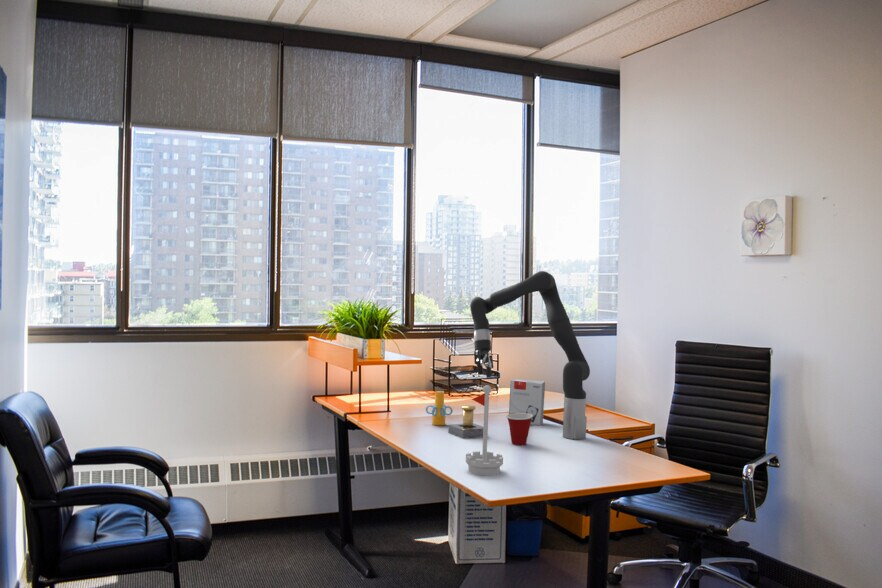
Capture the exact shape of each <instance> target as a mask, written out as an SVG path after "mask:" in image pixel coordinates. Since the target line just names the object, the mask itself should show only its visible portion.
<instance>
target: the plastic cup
mask: <svg viewBox="0 0 882 588" xmlns="http://www.w3.org/2000/svg"><path fill="white" fill-rule="evenodd" d="M505 417H506V418H507V421H508V426H509V434H510V435H509V436H510V441H511V445H514V446H526V445H527V441H528V436H529V431H530V428H531V427H530V426H531V424H530V423H531V419H532V417H533V415H531V414H527V413H513V414H509V413H508V414H507V415H505Z"/></svg>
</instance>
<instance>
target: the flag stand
mask: <svg viewBox="0 0 882 588" xmlns="http://www.w3.org/2000/svg"><path fill="white" fill-rule="evenodd" d="M482 391H483V394H481V395H478V396H476V397H474V398H472V399H471V400H472V401H473V402H474V401H475V403H478V404H479V405H481V406H484V407H483V437H482V454H481V452H480V451H479V450H478V451H477V450H476V451H473V452H472V453H470V452H467V453H466V454H465V463H466V464H467V465H468V466H467V467H468V468H467V470H468V472H469V473H471V474H474V475H480V476H493V475H494V474H495V475H497V474H500V472H501V467H502V466H503V465H504V457H503V454H500V453H496V455H494V451H493V452H492V451H488V435H489V434H488V432H489V431H488V430H489V429H488V428H489V409H490V408H489V407H490V403H489V402H490V394H491V392H492V387H491V386H490V385H489V384H487V385H484V386H483V388H482Z"/></svg>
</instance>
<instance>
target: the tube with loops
mask: <svg viewBox="0 0 882 588" xmlns="http://www.w3.org/2000/svg"><path fill="white" fill-rule="evenodd" d="M434 393H435V395H434V396H435V397H434V404H433V405H432V404H429V405H427V406H426V407H425V412H426V413H427V414H428V415H431V417H432V418H431V419H432V420H431V424H432V425H433V426H445V425H446V416H450V415H452V413H453V407H452V406H449V405H446V404H445V391H444V390H435V391H434ZM430 407H431V408H432V409H431V411H429V410H428V409H429V408H430ZM447 409H450V412H449V413H447Z"/></svg>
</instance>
